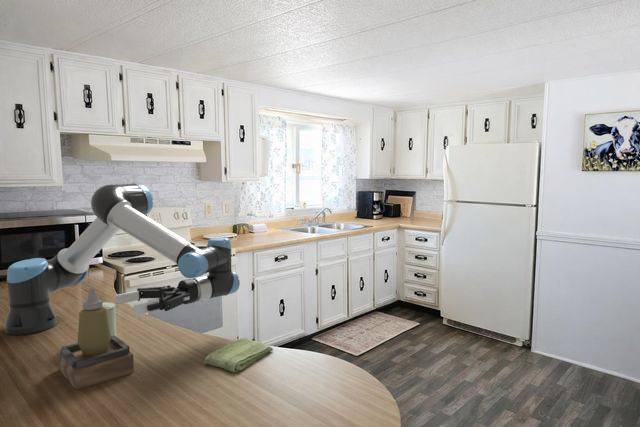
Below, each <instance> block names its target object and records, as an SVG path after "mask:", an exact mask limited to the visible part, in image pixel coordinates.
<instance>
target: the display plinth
mask: <svg viewBox="0 0 640 427" xmlns="http://www.w3.org/2000/svg"><path fill="white" fill-rule="evenodd" d="M116 336H117V335H116ZM116 336H111V340H110V343H109V347H108V350H107V352H106V353H103V354H100V355H96V356H92V357H86V356H84V355H83V353H82V351H81V349H80V347H79V345H78V342H76V343H71V344H68V345H65V346H61V349H60V348H59V351H57V356H58V360H57V361H58V371H60V373H61V374H62V375H63V377H65V379H66V381H68V382H69V383H70V384H71V385H72V387H73V388H74V389H75V391H80V390H83V389H87V388H88V387H91V386H95V385H97V384H101V383H103V382H106V381H107V382H108V381H110V380H113V379H116V378H119V377H123V376H126V375H128V374H132V373H135V369H134V367H135V366H134V363H135V362H134V354H133V353H132V352H131V351H130V345H129V344H127V343H126V342H124V341H123V340H121V339H120V338H119V337H116Z"/></svg>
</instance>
